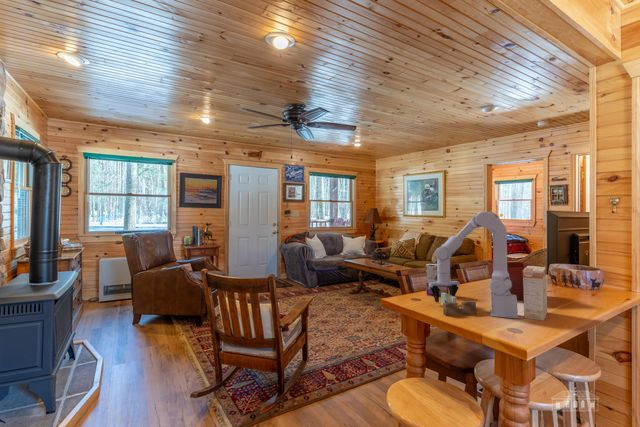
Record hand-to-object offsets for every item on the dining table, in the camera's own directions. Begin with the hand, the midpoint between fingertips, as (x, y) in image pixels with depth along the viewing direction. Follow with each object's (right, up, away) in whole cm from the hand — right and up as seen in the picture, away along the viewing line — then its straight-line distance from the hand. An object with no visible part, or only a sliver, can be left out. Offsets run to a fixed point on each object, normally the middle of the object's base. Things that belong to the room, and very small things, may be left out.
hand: (444, 301), depth 154 cm
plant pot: (+41, -2, +12) cm, 43 cm away
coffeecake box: (+31, -1, -18) cm, 36 cm away
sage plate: (+1, -2, -4) cm, 4 cm away
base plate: (+1, -1, -15) cm, 15 cm away
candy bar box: (+4, -2, +20) cm, 21 cm away
